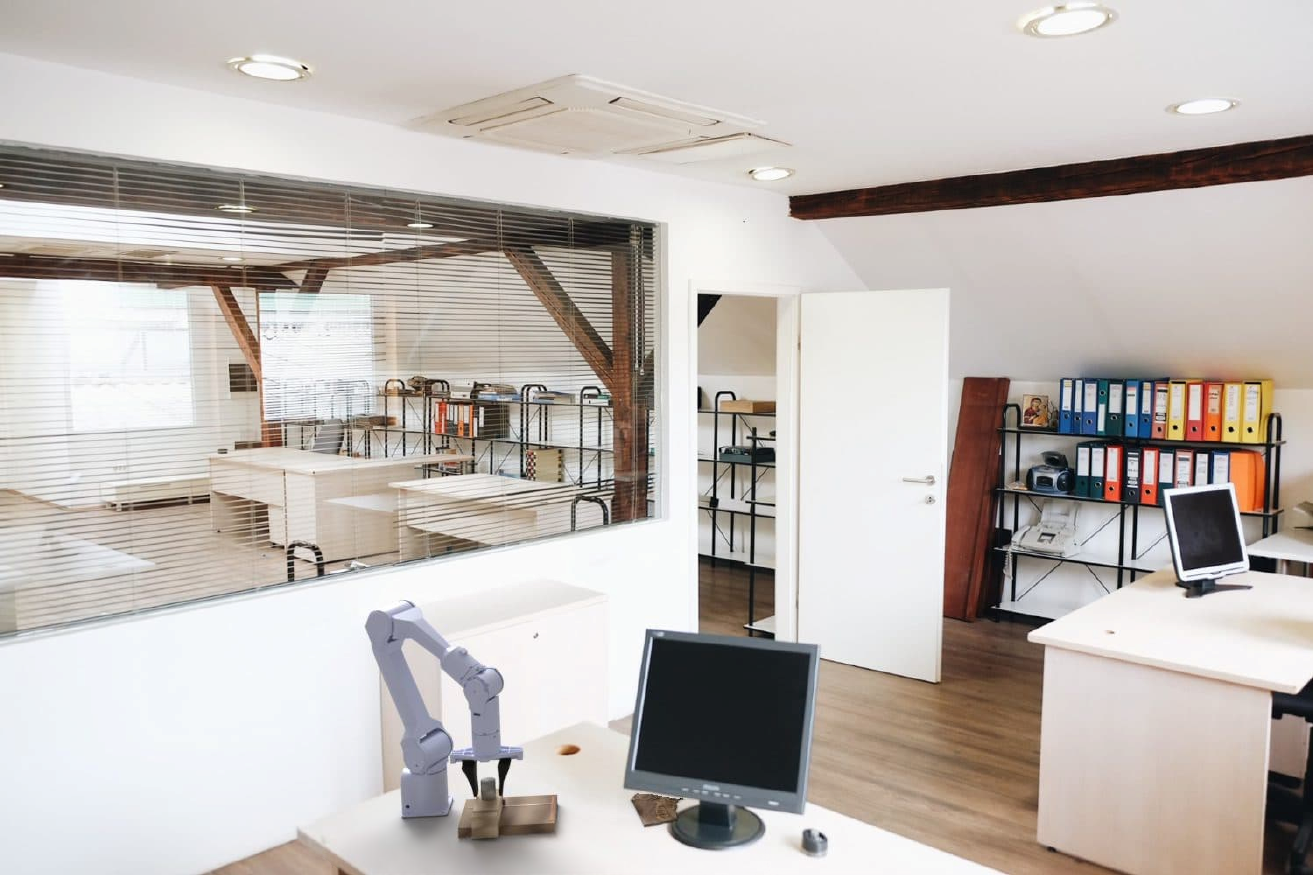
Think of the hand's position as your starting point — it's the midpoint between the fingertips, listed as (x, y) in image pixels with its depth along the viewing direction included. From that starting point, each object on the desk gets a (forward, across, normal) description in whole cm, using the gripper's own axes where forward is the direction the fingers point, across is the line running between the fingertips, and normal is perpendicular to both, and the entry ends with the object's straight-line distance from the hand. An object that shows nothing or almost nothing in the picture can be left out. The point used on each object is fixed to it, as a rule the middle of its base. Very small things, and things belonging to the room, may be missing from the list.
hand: (488, 794), depth 193 cm
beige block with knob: (+5, 0, -2) cm, 5 cm away
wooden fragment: (+6, +35, +7) cm, 36 cm away
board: (+6, +4, 0) cm, 7 cm away
